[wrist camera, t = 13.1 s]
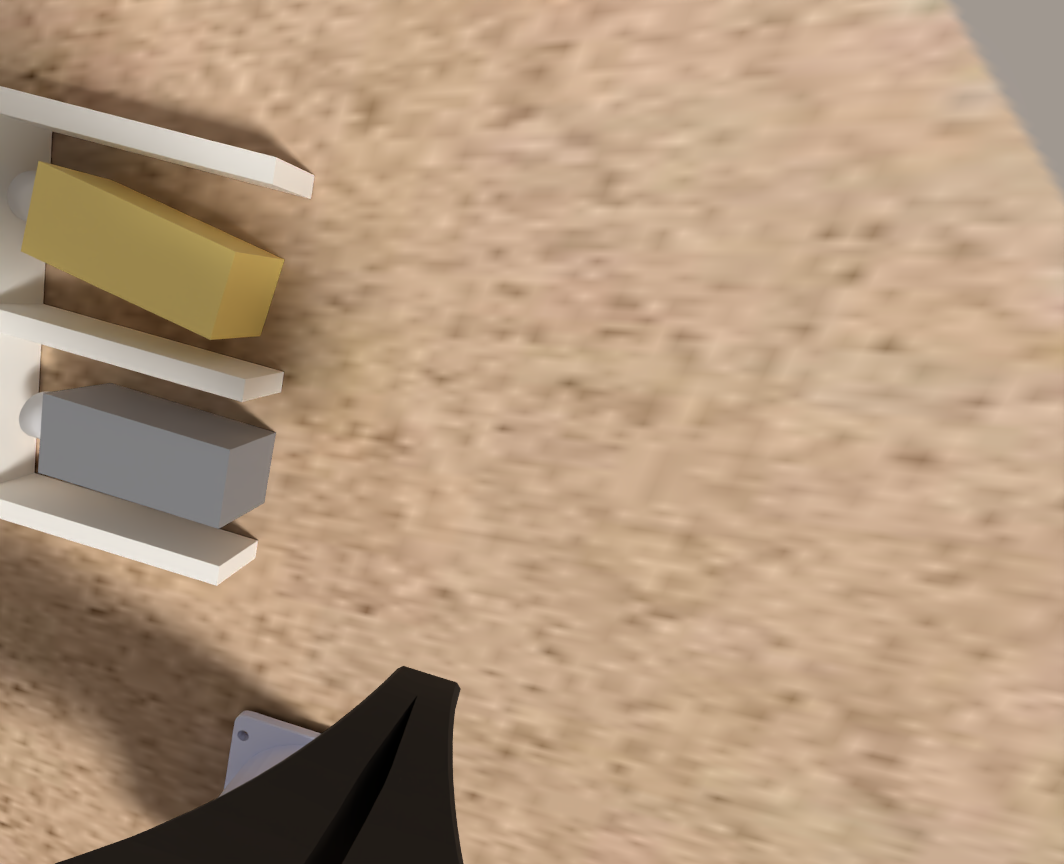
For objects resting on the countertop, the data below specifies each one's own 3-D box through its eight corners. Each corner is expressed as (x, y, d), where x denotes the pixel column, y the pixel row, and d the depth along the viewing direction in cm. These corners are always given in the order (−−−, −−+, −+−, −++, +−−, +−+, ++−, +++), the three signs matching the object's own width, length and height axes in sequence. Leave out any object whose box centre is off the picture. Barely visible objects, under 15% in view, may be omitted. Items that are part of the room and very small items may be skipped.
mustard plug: (263, 336, 21) (210, 339, 19) (64, 243, 22) (-20, 232, 19) (286, 259, 21) (235, 251, 18) (81, 164, 21) (-4, 141, 18)
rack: (255, 558, 23) (193, 601, 20) (12, 484, 24) (-90, 513, 20) (314, 175, 20) (253, 146, 16) (28, 101, 20) (-90, 57, 17)
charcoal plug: (267, 501, 23) (218, 529, 20) (75, 441, 23) (0, 460, 21) (278, 431, 22) (230, 449, 19) (80, 372, 23) (3, 381, 20)
